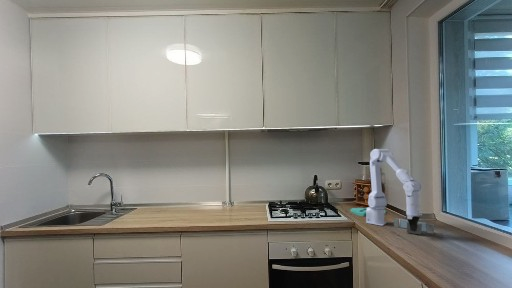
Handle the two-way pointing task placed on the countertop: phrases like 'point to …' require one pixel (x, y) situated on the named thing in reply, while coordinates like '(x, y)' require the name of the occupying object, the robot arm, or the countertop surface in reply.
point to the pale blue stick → (404, 224)
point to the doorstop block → (418, 229)
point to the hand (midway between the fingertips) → (413, 230)
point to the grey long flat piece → (429, 226)
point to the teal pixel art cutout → (360, 211)
